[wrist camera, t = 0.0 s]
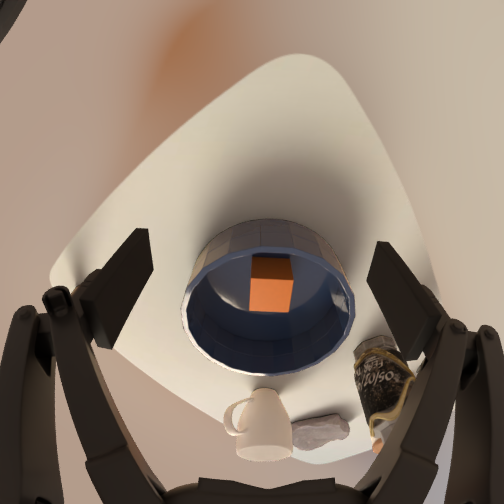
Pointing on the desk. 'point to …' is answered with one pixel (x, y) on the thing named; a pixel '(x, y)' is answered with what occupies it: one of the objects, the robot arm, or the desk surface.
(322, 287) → the stir bowl
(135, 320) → the desk surface
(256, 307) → the block
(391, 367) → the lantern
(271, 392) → the mug
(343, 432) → the stone block
